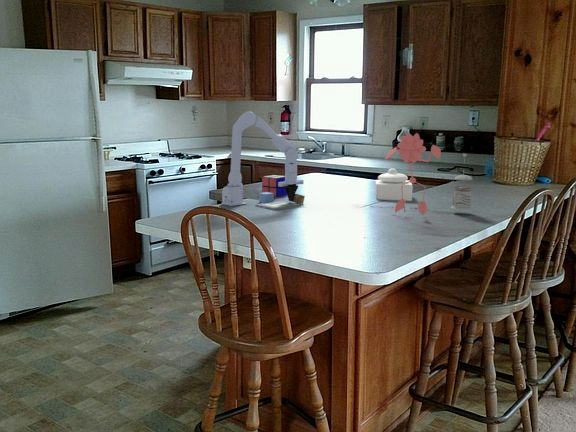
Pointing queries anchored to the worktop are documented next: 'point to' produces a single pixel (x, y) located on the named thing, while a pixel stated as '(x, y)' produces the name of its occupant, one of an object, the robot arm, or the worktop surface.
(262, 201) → the blue cube
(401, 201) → the figurine
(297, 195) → the walnut block
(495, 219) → the worktop surface
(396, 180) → the white lidded canister
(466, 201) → the french press
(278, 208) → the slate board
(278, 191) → the puzzle cube
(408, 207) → the worktop surface
